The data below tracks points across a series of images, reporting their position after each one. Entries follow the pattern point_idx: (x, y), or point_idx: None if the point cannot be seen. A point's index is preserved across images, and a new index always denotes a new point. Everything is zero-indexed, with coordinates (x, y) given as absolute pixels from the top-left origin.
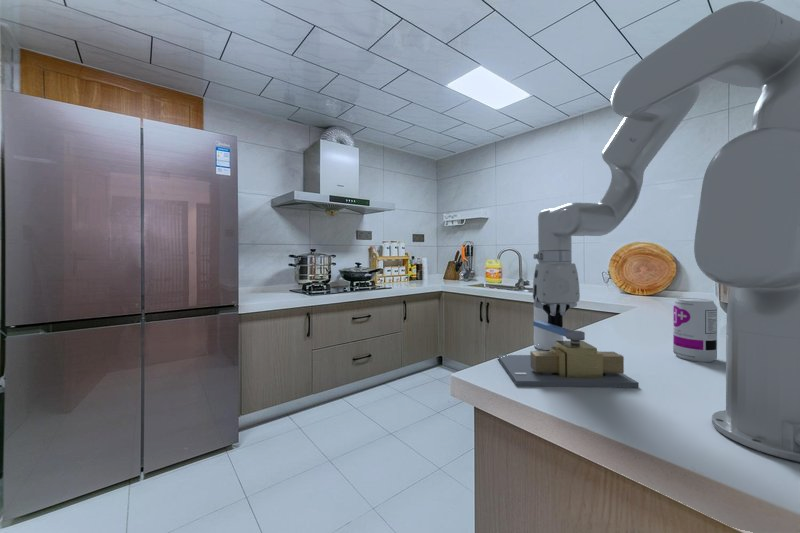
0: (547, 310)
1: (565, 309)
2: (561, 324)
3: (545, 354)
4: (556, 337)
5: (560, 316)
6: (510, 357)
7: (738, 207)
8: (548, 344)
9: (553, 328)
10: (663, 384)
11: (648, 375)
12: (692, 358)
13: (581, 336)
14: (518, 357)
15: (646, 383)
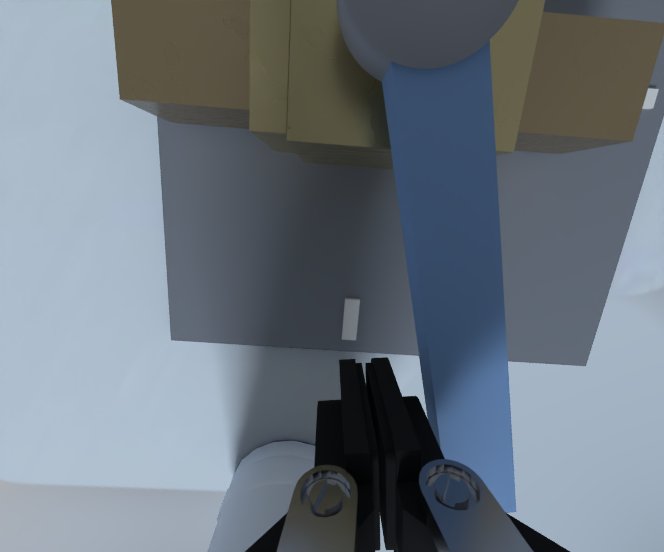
0: (536, 546)
1: (277, 548)
2: (342, 390)
3: (585, 55)
4: (267, 494)
5: (358, 446)
6: (547, 329)
7: None
8: (310, 464)
9: (495, 252)
10: (30, 3)
11: (39, 122)
12: None
13: None
14: (512, 328)
15: (98, 20)
